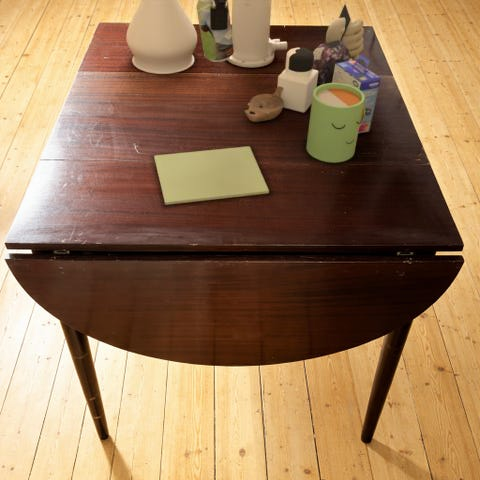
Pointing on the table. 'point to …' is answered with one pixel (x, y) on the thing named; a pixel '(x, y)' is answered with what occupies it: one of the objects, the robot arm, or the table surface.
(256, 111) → the oil lamp
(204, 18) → the beverage can
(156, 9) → the vase
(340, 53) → the mineral specimen
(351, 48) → the decorative object
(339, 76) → the ink cartridge box
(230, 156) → the mat
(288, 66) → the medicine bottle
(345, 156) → the mug
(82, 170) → the table surface
